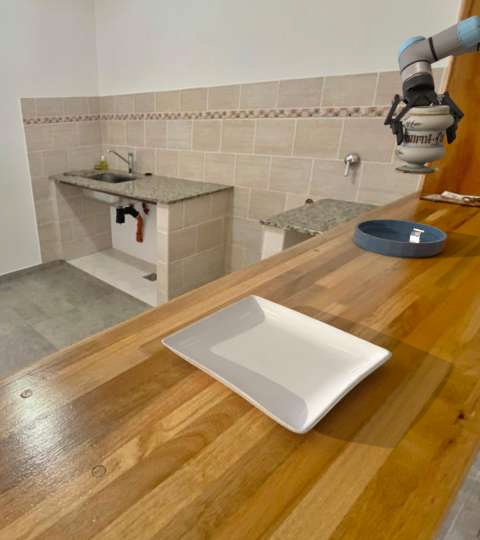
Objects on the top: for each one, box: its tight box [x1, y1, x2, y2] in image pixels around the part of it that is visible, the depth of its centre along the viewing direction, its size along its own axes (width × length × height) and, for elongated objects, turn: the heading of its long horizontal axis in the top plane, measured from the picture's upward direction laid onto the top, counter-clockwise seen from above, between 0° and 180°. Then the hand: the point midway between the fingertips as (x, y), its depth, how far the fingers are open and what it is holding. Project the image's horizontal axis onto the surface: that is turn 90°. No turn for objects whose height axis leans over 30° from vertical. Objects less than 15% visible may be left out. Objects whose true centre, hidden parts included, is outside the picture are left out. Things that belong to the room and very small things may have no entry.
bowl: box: [352, 218, 448, 259], centre depth 110 cm, size 21×21×4 cm
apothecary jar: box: [394, 105, 454, 176], centre depth 110 cm, size 12×12×18 cm
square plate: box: [161, 294, 393, 435], centre depth 66 cm, size 27×27×4 cm
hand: (426, 141), depth 108 cm, fingers closed on apothecary jar, 12 cm apart
